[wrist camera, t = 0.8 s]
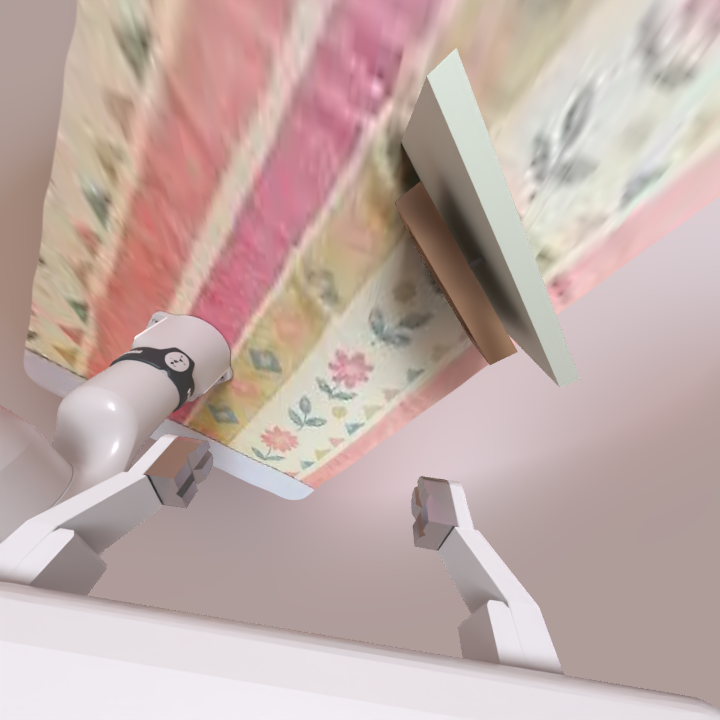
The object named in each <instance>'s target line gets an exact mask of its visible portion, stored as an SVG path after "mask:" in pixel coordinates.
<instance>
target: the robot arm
mask: <svg viewBox="0 0 720 720" xmlns="http://www.w3.org/2000/svg"><path fill="white" fill-rule="evenodd" d="M134 340H135V341H134V342H133V344H132V347H131V350H130V351H129V352H126V353H124V354H122V355H121V356H119V357H118V358H117V359H116V360H115V361H113V362H112V363H111V365H110V367H109V368H107V369H105V370H104V371H102V372H101V373H99V374H97V375H96V376H94V377H93V378H91V379H89V380H88V381H86V382H84V383H83V384H81V385H80V386H78V387H76V388H75V389H73V390H72V391H71V392H69V393H68V394H67V396H66V397H65V398H64V399H63V400H62V402H61V404H60V406H59V409H58V413H57V429H56V433H55V436H54V439H53V442H52V444H50V443H49V442H48V441H47V440H46V439H45V438H44V437H43V436H42V435H41V434H40V432H39V431H38V430H37V429H36V428H35V427H34V426H33V425H32V424H30V423H29V422H27V421H26V420H24V419H23V418H21V417H20V416H18V415H16V414H15V413H13V412H12V411H10V410H8V409H7V408H5V407H3V406H1V405H0V720H720V710H718V709H717V708H716V707H714V706H713V705H711V704H710V703H708V702H706V701H704V700H701V699H698V698H695V697H690V696H685V695H680V694H674V693H668V692H662V691H656V690H650V689H644V688H637V687H632V686H626V685H620V684H614V683H608V682H602V681H596V680H590V679H584V678H578V677H572V676H566V675H564V674H563V671H562V668H561V666H560V663H559V660H558V658H557V655H556V652H555V650H554V647H553V644H552V641H551V639H550V636H549V634H548V631H547V628H546V625H545V623H544V620H543V617H542V614H541V612H540V609H539V607H538V605H537V604H536V603H535V601H534V600H533V599H532V598H531V596H530V595H529V594H528V593H527V591H526V590H525V589H524V588H523V586H522V585H521V584H520V583H519V581H518V580H517V579H516V577H515V576H514V575H513V574H512V572H511V571H510V570H509V569H508V567H507V566H506V565H505V563H504V562H503V561H502V560H501V558H500V557H499V556H498V555H497V553H496V552H495V551H494V549H493V548H492V547H491V546H490V545H489V543H488V542H487V541H486V539H485V538H484V537H483V536H482V534H481V533H480V532H479V531H478V530H474V526H473V522H472V519H471V515H470V511H469V508H468V504H467V500H466V497H465V493H464V489H463V486H462V484H461V483H460V482H454V481H447V480H444V479H437V478H430V477H423V476H421V477H419V479H418V486H417V487H415V488H414V491H413V494H412V500H411V505H412V507H411V508H412V514H413V516H414V517H415V519H416V521H415V523H414V525H413V533H414V544H415V546H416V547H422V548H427V549H432V550H437V551H438V554H439V556H440V558H441V559H442V561H443V563H444V565H445V566H446V569H447V570H448V572H449V574H450V576H451V578H452V580H453V581H454V583H455V585H456V587H457V589H458V591H459V592H460V594H461V596H462V598H463V600H464V601H465V603H466V605H467V607H468V609H469V610H470V612H471V614H472V615H470V616H469V617H468V618H467V619H466V620H464V621H463V622H462V623H461V624H460V626H459V627H458V630H459V637H460V643H461V649H462V655H463V658H458V657H452V656H446V655H440V654H434V653H428V652H422V651H416V650H410V649H404V648H398V647H392V646H386V645H380V644H374V643H368V642H362V641H356V640H350V639H344V638H338V637H332V636H326V635H320V634H314V633H308V632H302V631H296V630H290V629H284V628H278V627H272V626H266V625H260V624H254V623H248V622H242V621H236V620H230V619H224V618H218V617H212V616H206V615H200V614H194V613H188V612H182V611H176V610H170V609H165V608H159V607H152V606H147V605H141V604H134V603H129V602H122V601H116V600H110V599H105V598H98V597H93V596H87V595H88V593H89V592H90V591H91V589H92V588H93V587H94V585H95V584H96V583H97V581H98V580H99V579H100V577H101V576H102V575H103V573H104V572H105V571H106V567H107V565H106V563H105V562H104V561H103V560H102V559H101V558H100V556H101V554H102V553H103V552H104V550H105V549H106V548H108V547H109V546H110V545H112V544H113V543H114V542H116V541H117V540H118V539H120V538H121V537H122V536H124V535H125V534H126V533H128V532H129V531H130V530H132V529H133V528H134V527H136V526H137V525H139V524H140V523H141V522H142V521H144V520H145V519H147V518H148V517H149V516H150V515H152V514H153V513H154V512H156V511H157V510H158V509H160V508H161V507H162V505H167V506H175V507H181V508H186V507H187V506H188V505H189V503H190V502H191V500H192V499H193V497H194V495H195V494H196V492H197V491H198V483H200V482H202V481H203V480H204V479H206V477H207V475H208V474H209V472H210V470H211V467H212V464H213V456H212V454H211V453H210V452H209V451H208V449H209V447H210V446H209V443H208V441H204V440H199V439H193V438H187V437H182V436H177V435H171V434H165V435H164V436H162V437H160V438H159V440H158V441H157V442H156V443H155V444H154V445H153V446H152V447H151V448H150V449H149V450H148V451H147V452H146V453H145V454H144V455H143V456H142V457H141V458H140V459H139V460H138V462H137V463H136V464H135V465H134V466H133V467H132V468H131V469H130V467H131V465H132V463H133V461H134V459H135V457H136V455H137V454H138V452H139V450H140V449H141V447H142V446H143V444H144V443H145V442H146V440H147V439H148V438H149V437H150V436H151V435H152V433H153V432H154V431H155V430H156V429H157V428H158V427H159V426H160V424H161V423H162V422H163V421H164V420H165V419H166V418H167V417H168V416H169V415H170V414H171V413H172V412H174V411H176V410H178V409H179V408H180V407H182V406H183V405H184V404H185V403H186V402H187V401H189V402H192V401H194V400H195V399H196V398H197V397H201V396H202V395H203V394H204V393H206V392H207V391H208V390H209V389H210V388H211V387H213V386H215V385H217V384H220V383H222V382H225V381H227V380H229V379H231V378H232V377H233V372H232V369H231V367H230V357H231V356H230V349H229V347H228V344H227V342H226V340H225V339H224V337H223V336H222V335H221V334H220V333H219V332H218V331H217V330H216V329H215V328H214V327H213V326H211V325H210V324H208V323H207V322H205V321H203V320H201V319H198V318H196V317H192V316H186V315H171V314H168V313H165V312H161V311H158V312H156V313H154V314H153V316H152V318H151V320H150V322H149V324H148V326H147V328H146V330H145V331H143V332H141V333H140V334H138V335H137V336H135V337H134ZM222 376H223V377H222ZM129 469H130V470H129Z"/></svg>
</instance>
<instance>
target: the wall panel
mask: <svg viewBox="0 0 720 720" xmlns="http://www.w3.org/2000/svg"><path fill="white" fill-rule="evenodd" d="M401 143H402V145H403V147H404V149H405V151H406V153H407V155H408V157H409V159H410V161H411V163H412V165H413V167H414V169H415V171H416V173H417V175H418V177H419V179H420V181H421V182H422V183H423V185H424V187H425V189H426V190H427V192H428V194H429V196H430V198H431V199H432V201H433V203H434V205H435V206H436V208H437V210H438V212H439V213H440V215H441V217H442V219H443V221H444V222H445V224H446V226H447V228H448V229H449V231H450V233H451V235H452V236H453V238H454V240H455V242H456V244H457V245H458V247H459V249H460V251H461V252H462V254H463V256H464V258H465V259H466V261H467V263H468V265H469V267H470V268H471V270H472V272H473V274H474V275H475V277H476V279H477V281H478V282H479V284H480V286H481V288H482V290H483V291H484V293H485V295H486V297H487V298H488V300H489V302H490V304H491V305H492V307H493V309H494V311H495V313H496V314H497V316H498V318H499V320H500V321H501V323H502V325H503V327H504V329H505V330H506V332H507V334H508V335H509V336H510V337H511V338H512V339H513V340H514V341H515V342H516V343H517V344H518V345H519V346H520V347H521V348H522V349H523V350H524V351H525V352H526V353H527V354H528V355H529V356H530V357H531V358H532V359H533V360H534V361H535V362H536V363H537V364H538V365H539V366H540V368H542V370H543V371H544V372H545V373H546V374H547V375H548V376H549V377H550V378H551V379H552V380H553V381H554V382H555V383H556V384H557V385H558V386H559V387H562V386H564V385H567V384H570V383H572V382H574V381H577V380H579V379H580V378H579V375H578V373H577V370H576V367H575V365H574V362H573V360H572V357H571V354H570V351H569V349H568V346H567V343H566V341H565V338H564V335H563V332H562V330H561V327H560V324H559V322H558V319H557V316H556V314H555V311H554V308H553V306H552V303H551V300H550V298H549V295H548V292H547V290H546V287H545V284H544V282H543V279H542V276H541V274H540V271H539V268H538V265H537V263H536V260H535V257H534V255H533V252H532V249H531V247H530V244H529V241H528V239H527V236H526V233H525V231H524V228H523V225H522V223H521V220H520V217H519V215H518V212H517V209H516V207H515V204H514V201H513V199H512V196H511V193H510V190H509V188H508V185H507V182H506V180H505V177H504V174H503V172H502V169H501V166H500V164H499V161H498V158H497V156H496V153H495V150H494V148H493V145H492V142H491V140H490V137H489V134H488V132H487V129H486V126H485V123H484V121H483V118H482V115H481V113H480V110H479V107H478V105H477V102H476V99H475V97H474V94H473V91H472V89H471V86H470V83H469V81H468V78H467V75H466V73H465V70H464V67H463V65H462V62H461V59H460V56H459V54H458V51H457V48H456V49H455V50H453V51H452V52H451V53H450V54H449V55H448V56H447V57H446V58H445V59H444V60H443V61H442V62H441V63H440V64H439V65H438V66H437V67H436V68H435V69H434V70H433V71H432V72H431V73H430V74H429V75H427V77H426V80H425V82H424V85H423V87H422V90H421V92H420V95H419V98H418V100H417V103H416V105H415V108H414V110H413V113H412V115H411V118H410V121H409V123H408V126H407V128H406V131H405V133H404V136H403V138H402V141H401Z"/></svg>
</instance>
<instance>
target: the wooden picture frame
mask: <svg viewBox="0 0 720 720" xmlns="http://www.w3.org/2000/svg"><path fill="white" fill-rule="evenodd" d="M395 204H396V206H397V209H398V211H399V214H400V216H401V219H402V221H403V224H404V227H405V229H406V231H407V232H408V234H409V236H410V237H411V239H412V241H413V243H414V244H415V246H416V248H417V249H418V251H419V253H420V255H421V256H422V258H423V260H424V261H425V263H426V265H427V266H428V268H429V270H430V272H431V273H432V275H433V277H434V278H435V280H436V282H437V284H438V285H439V287H440V289H441V290H442V292H443V294H444V295H445V297H446V299H447V301H448V302H449V304H450V306H451V307H452V309H453V311H454V313H455V314H456V316H457V318H458V319H459V321H460V323H461V324H462V326H463V328H464V330H465V331H466V333H467V335H468V336H469V338H470V340H471V341H472V342H473V344H474V345H475V346H476V347H477V349H478V350H479V351H480V353H481V354H482V355H483V357H484V358H485V359H486V361H487V362H488V363H489V364H490V365H491V364H493V363H495V362H497V361H500V360H502V359H504V358H506V357H508V356H510V355H512V354H514V353H516V352H517V350H516V348H515V346H514V344H513V343H512V341H511V339H510V337H509V336H508V334H507V332H506V330H505V329H504V327H503V325H502V323H501V321H500V320H499V318H498V316H497V314H496V313H495V311H494V309H493V307H492V305H491V304H490V302H489V300H488V298H487V297H486V295H485V293H484V291H483V290H482V288H481V286H480V284H479V282H478V281H477V279H476V277H475V275H474V274H473V272H472V270H471V268H470V267H469V265H468V263H467V261H466V259H465V258H464V256H463V254H462V252H461V251H460V249H459V247H458V245H457V244H456V242H455V240H454V238H453V236H452V235H451V233H450V231H449V229H448V228H447V226H446V224H445V222H444V221H443V219H442V217H441V215H440V213H439V212H438V210H437V208H436V206H435V205H434V203H433V201H432V199H431V198H430V196H429V194H428V192H427V190H426V189H425V187H424V185H423V183H422V182H421V181H420V182H419V183H418V184H416V185H415V186H414V187H413V188H411V189H410V190H409V191H408V192H406V193H405V194H404V195H403V196H402V197H400V198H399V199H398V200H397V201H395Z"/></svg>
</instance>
